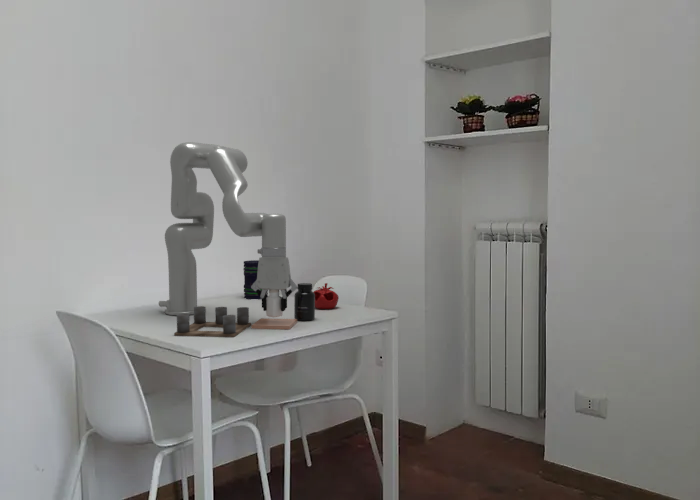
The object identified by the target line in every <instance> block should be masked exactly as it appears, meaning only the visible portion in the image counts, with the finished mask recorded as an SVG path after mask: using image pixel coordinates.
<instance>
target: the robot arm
mask: <svg viewBox="0 0 700 500" xmlns="http://www.w3.org/2000/svg"><path fill="white" fill-rule="evenodd" d="M169 165H170V172H171V186H170V187H171V190H170V192H171V193H170V212H171V213H170V214H171V215H172V216H173V217H174V218H176V219H179V220H192V222H178V223H177V222H176V223H173V224H171V225H169V226H168V227H167V228H166V230H165V233H164V241H165V245H166V250H167V251H166V252H167V257H168V258H167V263H168V297H169V298H168V299H167V300H166V301H165V300H159V301H158V306H159V307H161V308H163V307H166V309H164V314H165V315H170V316H177V315H178V314H189V316H190V315H192V316H193V315H194V307H198V284H197V283H198V282H197V276H198V275H197V273H198V272H197V260H196V257H195V255H194V253H193V250H202V249H206V248H207V247H209V246H210V245H211V243H212V242H213V235H214V223H215V222H214V221H215V205H214V201H213V199H212V197H211V196H210V195H209V194H208V193H206V192H201V191H198V188H197V187H198V180H197V176H196V173H195V172H194V170H193V169H208V170H210V172H211V173H212V175H213V176H214V177H213V178H215V180H216V183H217V184H218V187H219V188H220V189H221V191H222V193H223V197H222V204H221V205H222V214H223V217H224V219H225V221H226V222H227V225H228V226H229V228H230V229H231V231H232V232H233V233H234V235H236V236H238V237H241V238H248V237H261V248H260V249H257V251H256V252H257V254H260V255H261V257H259V259H258V260H259V263H258V272H257V280H256V281H255V282H254V283H253V285H252V286H251V288H252V289H253V290H254V291H256V293H257V294H258V295H259V296H260V297H261V298H262V299H261V309H263V310H262V311H263V312H266V298H267V296H268V294H267V291H268V292H269V290H279V291H280V293H281V297H282V299H281V311H283V312H284V311H286V309H287V308H288V297H290V295H291V294H292V293H294V292H296V291H297V290H298V289H297V288H298V284H296V283H295V281H294V280H293V279H292V277H291V276H292V275H291V267H290V261H289V260H290V259H289V257H288V256H287V221H286V216H285V215H284V214H282V213H266V212H265V213H264V212H245V211H244V210H243V208H242V206H241V204H240V202H239V199H238V198H239V196H241V195H242V194H243V193H245V191H246V190H247V189H248V182H247V180H246V177H245V176H244V175H243V173H244V172H245V171H246V170H247V167H248V159H247V155H246V154H245V153H244V151H242V150H240V149H238V148H231V147H226V146H223V145H219V144H218V145H217V144H210V143H201V142H193V141H192V142H182V143H179V144H178V145H176V146H175V147H174V148H173V150H172V152H171V155H170V160H169ZM288 288H289V289H288ZM261 289H262V290H261ZM266 294H267V296H266Z"/></svg>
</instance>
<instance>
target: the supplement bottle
mask: <svg viewBox="0 0 700 500" xmlns="http://www.w3.org/2000/svg"><path fill="white" fill-rule="evenodd" d="M297 287H298V288H297V289H296V291H295V293H294V303H293V304H294V313H293V317H294V318H293V319H297V322H298V321H299V322H310V321H314V320H315V316H316V315H315V314H316V311H315V310H316V308H315V294H314V291H312V290H313V283H310V282H300V283H299V282H298V283H297Z"/></svg>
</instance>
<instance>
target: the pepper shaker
mask: <svg viewBox="0 0 700 500" xmlns="http://www.w3.org/2000/svg"><path fill="white" fill-rule="evenodd" d="M268 294H269V296H268V295H267V296H268V297H267V298H266V311H265V315H266V316H267V317H269V318H279V317H282V316H284V314H283V312H284V311H281V299H282V295H280V290H268Z"/></svg>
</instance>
